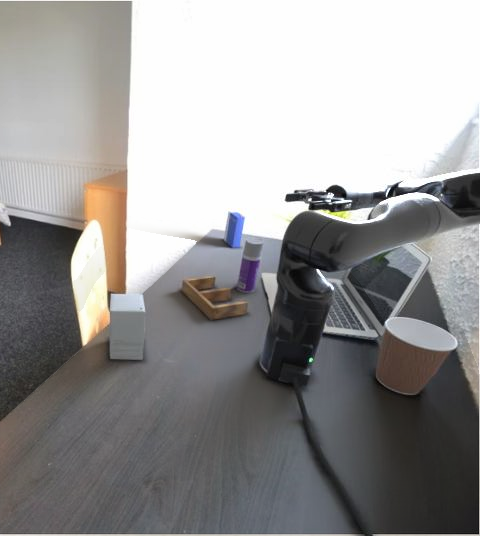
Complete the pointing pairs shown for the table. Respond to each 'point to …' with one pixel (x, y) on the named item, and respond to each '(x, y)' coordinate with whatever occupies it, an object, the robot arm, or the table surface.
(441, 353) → the coffee cup
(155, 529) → the table surface
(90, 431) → the table surface
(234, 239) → the walkman
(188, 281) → the caddy
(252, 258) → the container
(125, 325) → the white packaging box
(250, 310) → the table surface
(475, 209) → the robot arm
